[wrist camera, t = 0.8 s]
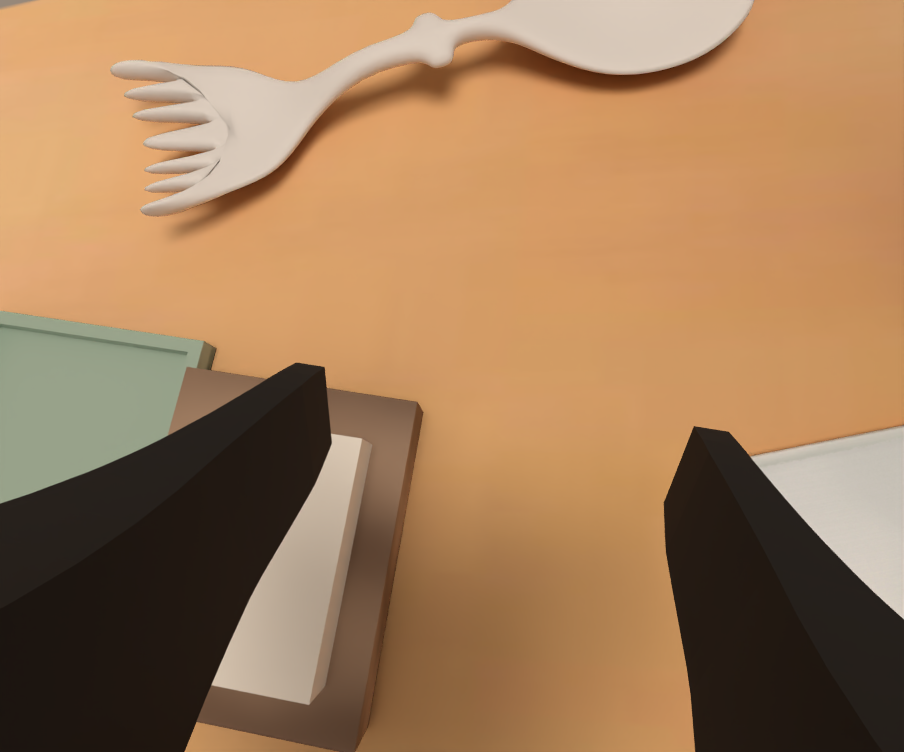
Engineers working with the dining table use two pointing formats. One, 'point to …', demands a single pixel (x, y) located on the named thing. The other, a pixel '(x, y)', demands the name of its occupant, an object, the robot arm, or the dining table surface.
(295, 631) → the tile
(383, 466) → the deck
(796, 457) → the hard drive
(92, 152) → the dining table surface
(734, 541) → the robot arm
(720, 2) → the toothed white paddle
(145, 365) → the tray
